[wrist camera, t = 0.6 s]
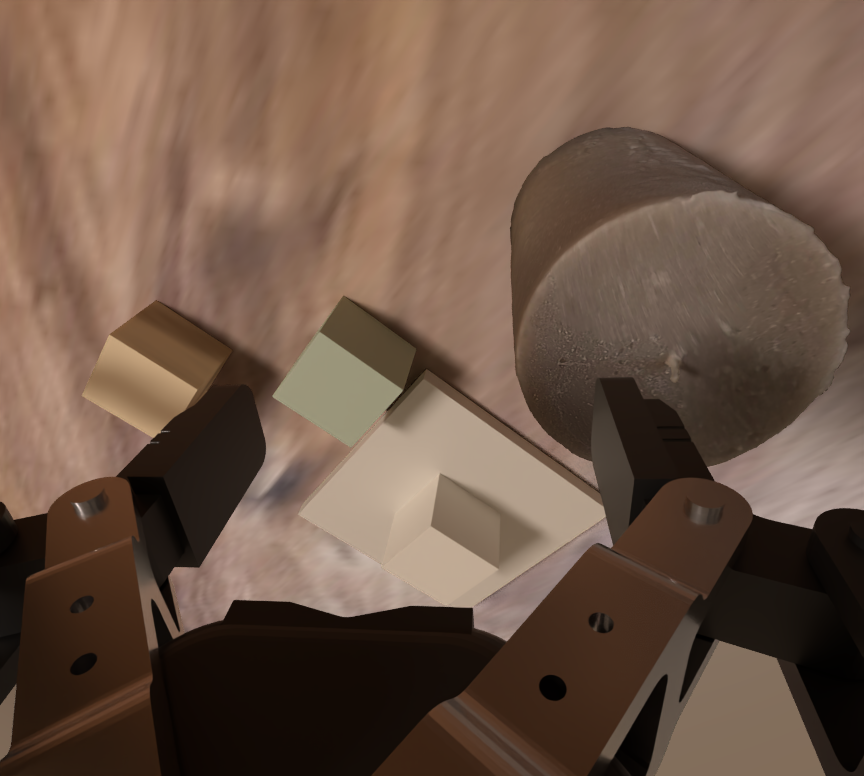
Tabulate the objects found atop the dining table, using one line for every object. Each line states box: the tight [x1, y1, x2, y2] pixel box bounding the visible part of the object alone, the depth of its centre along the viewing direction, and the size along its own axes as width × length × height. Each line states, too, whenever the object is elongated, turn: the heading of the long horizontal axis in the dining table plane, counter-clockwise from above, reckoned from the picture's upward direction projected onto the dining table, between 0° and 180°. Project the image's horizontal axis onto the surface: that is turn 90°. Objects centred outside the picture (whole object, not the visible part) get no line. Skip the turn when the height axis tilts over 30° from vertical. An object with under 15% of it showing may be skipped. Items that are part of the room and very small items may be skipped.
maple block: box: [82, 300, 233, 438], centre depth 34 cm, size 5×5×5 cm
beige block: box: [381, 473, 500, 606], centre depth 37 cm, size 5×5×5 cm
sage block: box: [272, 296, 416, 447], centre depth 32 cm, size 5×5×5 cm
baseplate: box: [298, 369, 606, 608], centre depth 39 cm, size 16×16×1 cm
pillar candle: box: [510, 127, 850, 467], centre depth 22 cm, size 10×10×15 cm
